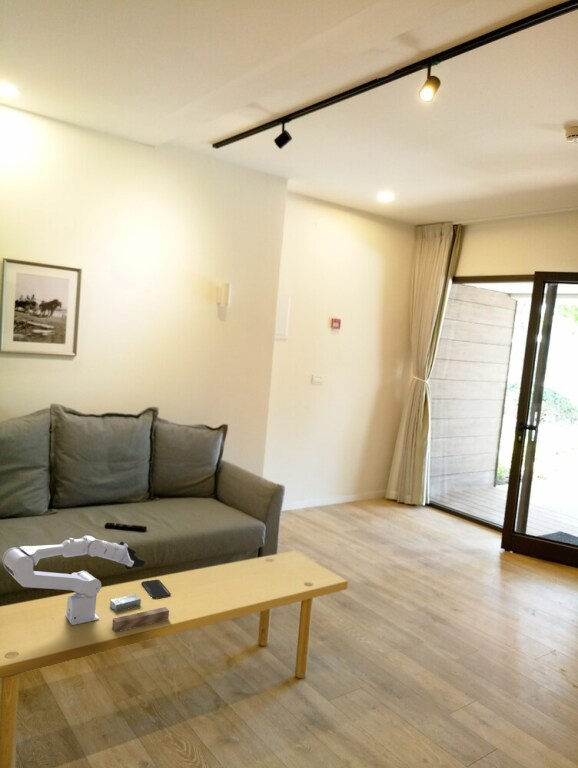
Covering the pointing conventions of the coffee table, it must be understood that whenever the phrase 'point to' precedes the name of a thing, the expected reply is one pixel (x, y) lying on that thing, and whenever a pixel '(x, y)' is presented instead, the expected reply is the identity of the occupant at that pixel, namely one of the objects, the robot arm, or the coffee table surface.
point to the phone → (155, 589)
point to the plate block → (125, 602)
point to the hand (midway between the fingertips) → (138, 558)
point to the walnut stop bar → (140, 619)
